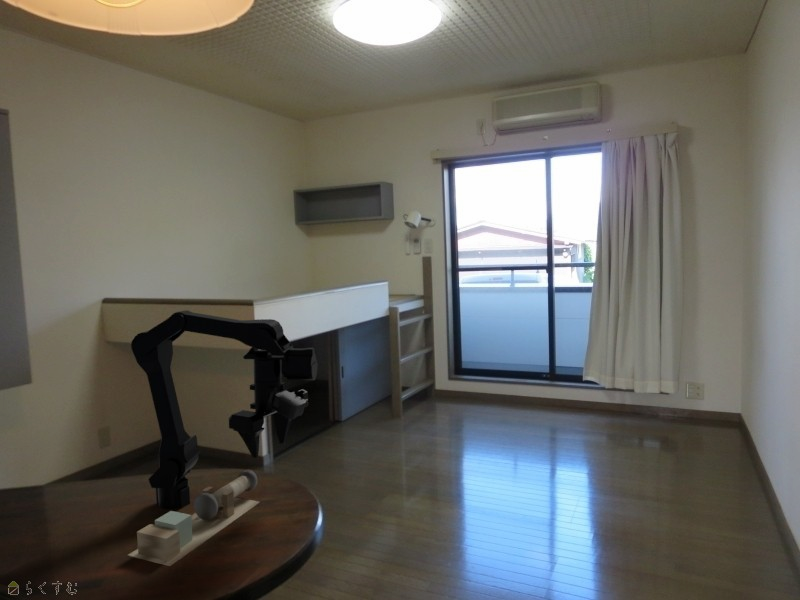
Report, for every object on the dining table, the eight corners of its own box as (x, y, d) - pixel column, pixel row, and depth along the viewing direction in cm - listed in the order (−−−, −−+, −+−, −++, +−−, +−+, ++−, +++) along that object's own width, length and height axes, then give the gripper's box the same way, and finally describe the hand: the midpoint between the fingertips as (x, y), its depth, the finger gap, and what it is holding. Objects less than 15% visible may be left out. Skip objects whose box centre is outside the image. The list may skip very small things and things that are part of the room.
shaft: (194, 517, 110) (193, 493, 110) (240, 488, 124) (239, 466, 124) (214, 522, 109) (213, 497, 108) (259, 491, 122) (258, 469, 122)
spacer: (156, 545, 101) (154, 520, 101) (172, 535, 105) (171, 510, 104) (176, 551, 99) (175, 525, 99) (192, 540, 103) (191, 515, 103)
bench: (127, 559, 98) (125, 528, 98) (223, 498, 122) (222, 473, 122) (170, 570, 95) (168, 538, 94) (260, 505, 119) (259, 479, 118)
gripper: (271, 393, 103) (273, 472, 105) (323, 373, 120) (324, 441, 122) (225, 387, 108) (227, 463, 109) (282, 369, 125) (283, 435, 126)
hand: (269, 450), depth 116 cm, fingers open, 9 cm apart
